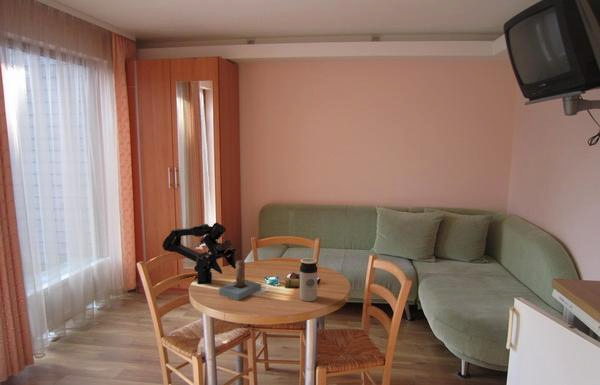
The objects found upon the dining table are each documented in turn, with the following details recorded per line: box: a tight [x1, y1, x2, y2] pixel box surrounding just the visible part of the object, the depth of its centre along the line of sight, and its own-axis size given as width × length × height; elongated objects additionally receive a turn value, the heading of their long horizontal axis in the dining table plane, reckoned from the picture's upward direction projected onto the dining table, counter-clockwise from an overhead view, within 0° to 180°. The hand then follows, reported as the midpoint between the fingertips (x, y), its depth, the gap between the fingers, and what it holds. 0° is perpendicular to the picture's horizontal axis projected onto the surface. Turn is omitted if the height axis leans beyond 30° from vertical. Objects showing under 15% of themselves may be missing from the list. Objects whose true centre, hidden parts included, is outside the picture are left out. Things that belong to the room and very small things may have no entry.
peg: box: [235, 260, 246, 289], centre depth 180 cm, size 4×4×15 cm
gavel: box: [284, 272, 300, 288], centre depth 198 cm, size 21×5×10 cm
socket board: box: [218, 279, 262, 301], centre depth 181 cm, size 12×16×3 cm
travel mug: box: [299, 257, 318, 302], centre depth 173 cm, size 8×8×18 cm
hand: (228, 270), depth 185 cm, fingers open, 9 cm apart
